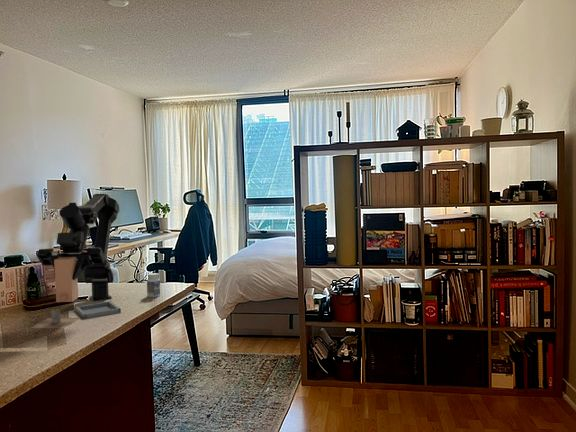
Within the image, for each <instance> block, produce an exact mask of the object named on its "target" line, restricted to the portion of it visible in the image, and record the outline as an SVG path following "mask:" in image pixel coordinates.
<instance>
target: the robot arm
mask: <svg viewBox="0 0 576 432" xmlns="http://www.w3.org/2000/svg"><path fill="white" fill-rule="evenodd" d="M119 213H120V205H119V203H118V202H117V200H116V199H114V198H113V197H110V196H109V194H107V193H94V194H93V195H92V197H91V198H90V199H89V200H87V202H86V203H84V204H83V205H78V204H77V202H69V203H68V205H65V206H63V207H62V208H61V209H60V210H59V213H58V214H59V217H60V218H61V220H62V222H63V224H64V225H65V228H67V229H68V232H58V233H57V237H56V245H59V250H60V251H61V252H60V251H54V248H40V249H38V250H37V252H36V257H37V260H39V262H40V263H41V265H42V266H44V267H46V266H52V268H53V271H54V273H53V274H54V275H55V265H54V260H55V259H58V258H60V257H76V259H77V264H76V267H75V270H74V273H73V277H72V279H73V280H75V279H76V278H77V279H78V277H80V276H81V274H82V273H83V274H84V280H85V284H91V295H90V296H89V299H90V300H91V301H93V302H95V301H96V302H97V301H102V300H109V299H112V296H111V295H109V294H110V293H109V283H113V282H114V272H113V270H112V268H111V265H110V262H109V260H108V258H107V257H108V252H109V251H108V249H109V243H110V236H111V231H112V230H111V229H112V224H113V223H114V222H115V221H116V220H117V219H118V214H119ZM97 220H98V223H97V229H96V236H95V242H94V247H87V244H86V243H87V240H88V237H89V236H91V232H90V226H89V225H93V224H95V223H96V221H97ZM85 249H87V250H86V252H84V250H85Z"/></svg>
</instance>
